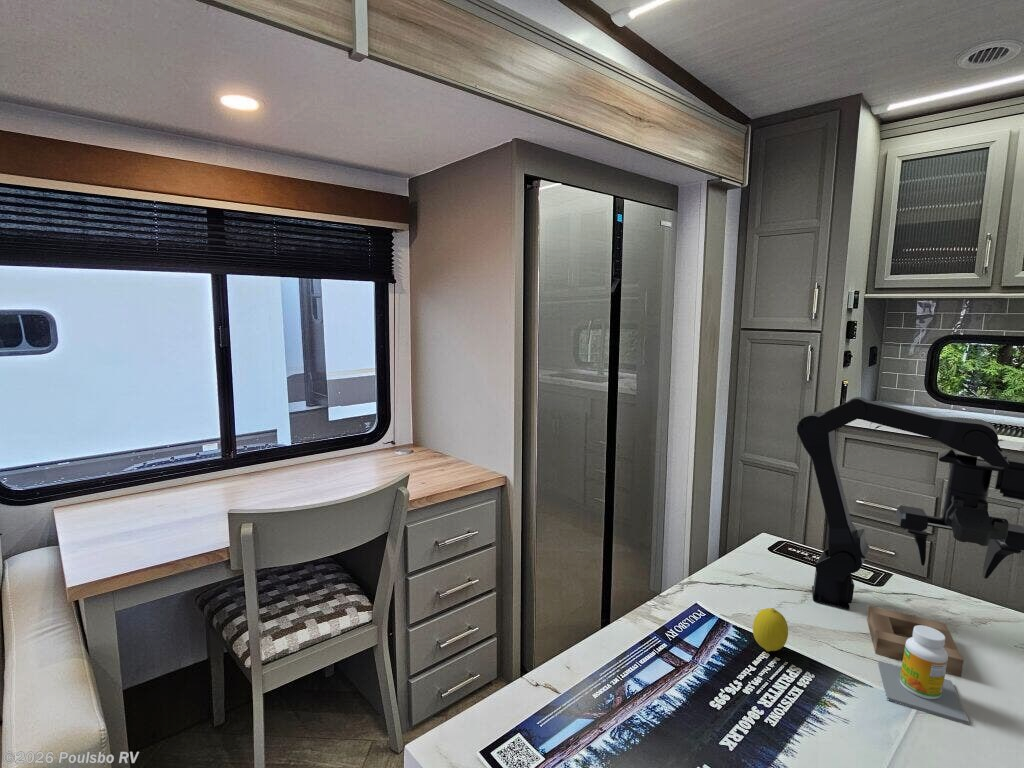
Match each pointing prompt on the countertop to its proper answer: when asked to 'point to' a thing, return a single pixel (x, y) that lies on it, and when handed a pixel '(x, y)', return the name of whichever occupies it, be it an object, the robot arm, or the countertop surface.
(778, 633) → the lemon
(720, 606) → the countertop surface
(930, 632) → the supplement bottle
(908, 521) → the robot arm
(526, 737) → the countertop surface
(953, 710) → the grey rubber mat
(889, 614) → the walnut open tray
